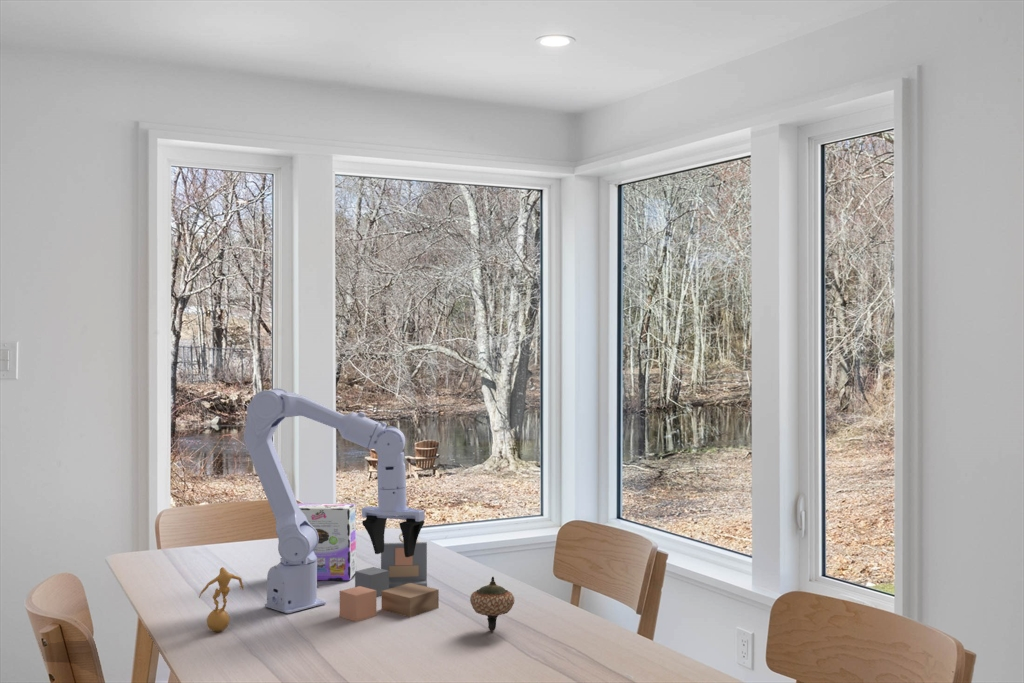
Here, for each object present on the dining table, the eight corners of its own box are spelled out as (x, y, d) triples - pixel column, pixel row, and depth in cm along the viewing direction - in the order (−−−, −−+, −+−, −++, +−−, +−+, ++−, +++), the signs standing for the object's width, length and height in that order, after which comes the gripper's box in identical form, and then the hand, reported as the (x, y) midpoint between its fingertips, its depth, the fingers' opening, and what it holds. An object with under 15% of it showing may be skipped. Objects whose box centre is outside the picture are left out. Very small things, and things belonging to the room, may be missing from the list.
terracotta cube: (356, 622, 170) (356, 595, 170) (339, 616, 173) (339, 591, 173) (376, 616, 173) (376, 590, 173) (359, 611, 177) (359, 586, 177)
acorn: (501, 641, 158) (501, 584, 158) (461, 634, 162) (461, 579, 162) (522, 628, 166) (522, 574, 166) (483, 622, 169) (483, 569, 169)
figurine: (234, 624, 168) (235, 560, 168) (249, 631, 163) (249, 565, 163) (191, 633, 162) (191, 567, 162) (204, 641, 158) (205, 573, 158)
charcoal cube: (370, 599, 185) (370, 575, 185) (355, 595, 188) (355, 571, 188) (388, 594, 189) (388, 570, 189) (373, 590, 192) (373, 567, 192)
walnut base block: (410, 618, 172) (410, 598, 172) (381, 611, 177) (381, 591, 177) (438, 609, 179) (438, 589, 179) (410, 602, 184) (410, 582, 184)
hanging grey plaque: (426, 586, 195) (427, 545, 195) (380, 588, 193) (380, 546, 193) (426, 579, 200) (426, 539, 201) (381, 581, 199) (381, 540, 199)
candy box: (357, 574, 205) (356, 502, 204) (349, 581, 199) (349, 508, 199) (299, 572, 206) (298, 501, 206) (290, 579, 200) (289, 507, 200)
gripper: (432, 486, 181) (435, 553, 181) (376, 483, 188) (378, 547, 188) (411, 491, 175) (414, 560, 175) (354, 488, 182) (356, 554, 182)
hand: (394, 554), depth 181 cm, fingers open, 7 cm apart
